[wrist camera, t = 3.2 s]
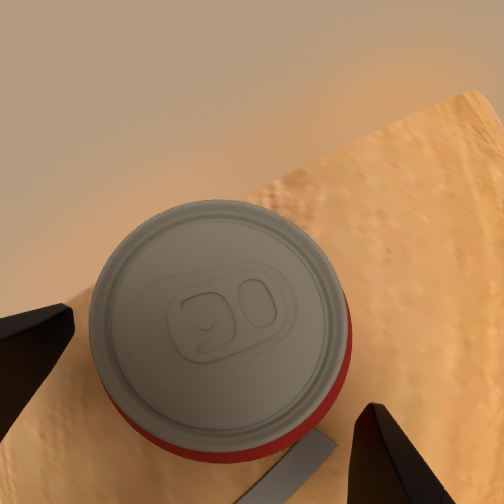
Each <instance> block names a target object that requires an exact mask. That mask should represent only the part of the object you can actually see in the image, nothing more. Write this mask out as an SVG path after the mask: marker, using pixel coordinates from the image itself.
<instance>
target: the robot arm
mask: <svg viewBox="0 0 504 504" xmlns="http://www.w3.org/2000/svg"><path fill="white" fill-rule="evenodd" d="M74 332H75V324H74V315H73V310H72V308H71V307H69V306H67V305H65V304H62V303H60V304H56V305H51V306H47V307H43V308H40V309H36V310H32V311H28V312H24V313H20V314H16V315H12V316H8V317H4V318H0V443H1V441H2V440H3V438H4V437H5V435H6V434H7V432H8V431H9V429H10V428H11V426H12V425H13V423H14V422H15V420H16V419H17V418H18V416H19V415H20V413H21V412H22V410H23V409H24V408H25V406H26V405H27V403H28V402H29V401H30V399H31V398H32V396H33V395H34V394H35V392H36V391H37V390H38V388H39V387H40V386H41V384H42V383H43V382H44V380H45V379H46V378H47V376H48V375H49V373H50V372H51V371H52V369H53V368H54V366H55V364H56V363H57V361H58V360H59V358H60V356H61V355H62V353H63V351H64V350H65V348H66V347H67V345H68V343H69V342H70V340H71V339H72V337H73V335H74ZM347 504H456V503H455V502H454V501H453V499H452V498H451V497H450V495H449V494H448V492H447V491H446V490H444V487H443V486H442V484H441V483H440V481H439V480H438V479H437V477H436V476H435V474H434V473H433V472H432V470H431V469H430V467H429V466H428V465H427V463H426V462H425V461H424V459H423V458H422V456H421V455H420V454H419V452H418V451H417V450H416V448H415V447H414V445H413V444H412V443H411V441H410V440H409V439H408V437H407V436H406V435H405V433H404V432H403V430H402V429H401V428H400V426H399V425H398V424H397V422H396V421H395V420H394V418H393V417H392V415H391V414H390V413H389V411H388V410H387V409H386V407H385V406H384V405H383V404H379V403H373V402H371V403H369V404H368V405H367V406H366V407H365V409H364V410H363V412H362V413H361V414H360V416H359V417H358V419H357V420H356V423H355V426H354V435H353V443H352V450H351V457H350V464H349V475H348V497H347Z"/></svg>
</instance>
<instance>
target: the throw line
mask: <svg viewBox="0 0 504 504" xmlns="http://www.w3.org/2000/svg"><path fill="white" fill-rule="evenodd" d="M337 446H338V445H337V444H336V443H334V442H333V441H332V440H330V439H329V438H327V437H326V436H325V435H323V434H322V433H320V432H319V431H318V430H316V429H315V428H313V429H312V430H311V431H309V432H308V433H307V434H306V435H305V436H304V437H302V438H301V439H299V440H298V442H297V443H296V444H295V445H294V446H293V447H292V448H291V449H290V450H289V451H288V452H287V453H286V454H285V456H284V457H283V458H282V459H281V460H280V461H279V462H278V463H277V464H276V465H275V466H274V467H273V468H272V469H271V470H270V471H269V472H268V473H267V474H266V475H265V476H264V477H263V478H262V479H261V480H260V481H259V482H258V483H257V484H255V485H254V486H253V487H252V488H251V489H250V490H249V491H248V492H247V493H246V494H245V495H244V496H242V497H241V498H240V499H239V500H238V501H237V502H236V503H235V504H283V503H284V502H285V501H286V500H287V499H288V498H289V497H290V496H291V495H292V494H293V493H294V492H295V491H296V490H297V489H298V488H299V487H300V486H301V485H302V484H303V483H304V482H305V481H306V480H307V479H308V478H309V477H310V476H311V475H312V474H313V473H314V472H315V471H316V470H317V469H318V468H319V466H320V465H321V464H322V463H323V462H324V461H325V460H326V459H327V458H328V456H329V455H330V454H331V453H332V452H333V451H334V450H335V448H336V447H337Z"/></svg>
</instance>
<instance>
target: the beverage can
mask: <svg viewBox="0 0 504 504" xmlns="http://www.w3.org/2000/svg"><path fill="white" fill-rule="evenodd" d="M89 339H90V346H91V351H92V356H93V360H94V363H95V366H96V368H97V371H98V374H99V376H100V378H101V381H102V384H103V386H104V388H105V390H106V392H107V394H108V396H109V398H110V400H111V401H112V403H113V404H114V406H115V407H116V409H117V410H118V412H119V413H120V414H121V415H122V416H123V418H124V419H125V420H126V421H127V422H128V423H129V424H130V425H131V426H132V427H133V428H134V429H135V430H136V431H137V432H139V433H140V434H141V435H142V436H143V437H145V438H146V439H148V440H149V441H150V442H152V443H153V444H155V445H157V446H159V447H160V448H162V449H164V450H166V451H168V452H171V453H173V454H175V455H178V456H181V457H184V458H187V459H191V460H195V461H200V462H207V463H219V464H228V463H240V462H247V461H252V460H256V459H260V458H263V457H266V456H269V455H272V454H274V453H276V452H279V451H281V450H283V449H285V448H287V447H288V446H290V445H292V444H294V443H295V442H296V441H298V440H299V439H301V438H302V437H304V436H305V435H306V434H307V433H308V432H309V431H311V430H312V429H313V428H314V427H315V426H316V425H317V424H318V423H319V422H320V421H321V420H322V418H323V417H324V416H325V415H326V413H327V412H328V411H329V409H330V408H331V406H332V405H333V403H334V402H335V400H336V398H337V396H338V394H339V392H340V390H341V388H342V386H343V383H344V381H345V378H346V375H347V372H348V368H349V363H350V359H351V350H352V324H351V317H350V312H349V308H348V303H347V300H346V297H345V294H344V292H343V289H342V287H341V284H340V282H339V279H338V277H337V274H336V272H335V270H334V268H333V266H332V265H331V263H330V261H329V260H328V258H327V257H326V255H325V254H324V252H323V251H322V250H321V248H320V247H319V246H318V245H317V244H316V243H315V242H314V240H313V239H312V238H311V237H310V236H309V235H308V234H307V233H305V232H304V231H303V230H302V229H301V228H299V227H298V226H297V225H295V224H294V223H293V222H291V221H290V220H288V219H286V218H285V217H283V216H281V215H279V214H277V213H275V212H273V211H271V210H268V209H266V208H263V207H260V206H257V205H254V204H250V203H245V202H240V201H232V200H204V201H196V202H191V203H187V204H183V205H180V206H177V207H173V208H171V209H168V210H166V211H164V212H162V213H159V214H157V215H155V216H154V217H152V218H150V219H149V220H147V221H145V222H144V223H143V224H141V225H140V226H138V227H137V228H136V229H135V230H133V231H132V232H131V233H130V234H129V235H128V236H127V237H126V238H125V239H124V240H123V241H122V242H121V243H120V244H119V245H118V247H117V248H116V249H115V251H114V252H113V253H112V254H111V256H110V257H109V259H108V260H107V262H106V264H105V266H104V267H103V269H102V272H101V273H100V276H99V278H98V280H97V283H96V286H95V289H94V292H93V296H92V300H91V306H90V313H89Z"/></svg>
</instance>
